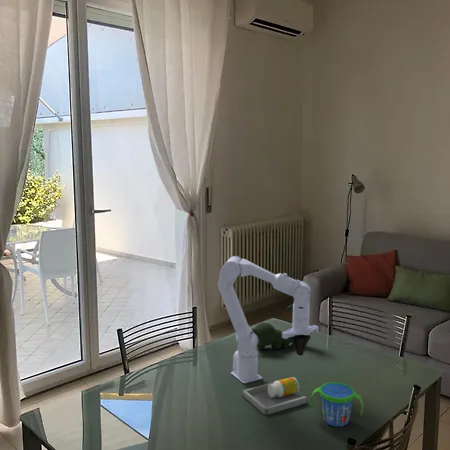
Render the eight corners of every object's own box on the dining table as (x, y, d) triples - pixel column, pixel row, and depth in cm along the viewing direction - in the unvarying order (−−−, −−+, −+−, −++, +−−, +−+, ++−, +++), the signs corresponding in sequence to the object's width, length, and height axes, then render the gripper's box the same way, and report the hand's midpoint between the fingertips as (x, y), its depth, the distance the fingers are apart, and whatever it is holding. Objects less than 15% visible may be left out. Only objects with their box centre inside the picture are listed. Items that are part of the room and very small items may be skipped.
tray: (242, 396, 169) (242, 390, 168) (281, 385, 176) (281, 380, 176) (265, 415, 157) (265, 409, 156) (306, 403, 164) (306, 397, 164)
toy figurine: (295, 344, 218) (241, 345, 210) (300, 301, 216) (245, 301, 208) (305, 352, 210) (249, 354, 201) (310, 308, 207) (254, 308, 199)
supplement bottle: (301, 388, 167) (277, 394, 162) (295, 395, 170) (271, 402, 166) (294, 373, 170) (270, 379, 166) (288, 381, 174) (264, 387, 169)
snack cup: (306, 423, 152) (307, 392, 151) (315, 407, 162) (316, 377, 160) (358, 436, 146) (360, 403, 144) (364, 418, 155) (366, 387, 154)
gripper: (291, 324, 168) (290, 362, 170) (324, 317, 175) (323, 354, 177) (278, 317, 174) (277, 355, 176) (311, 311, 181) (310, 347, 184)
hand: (299, 354), depth 177 cm, fingers closed
